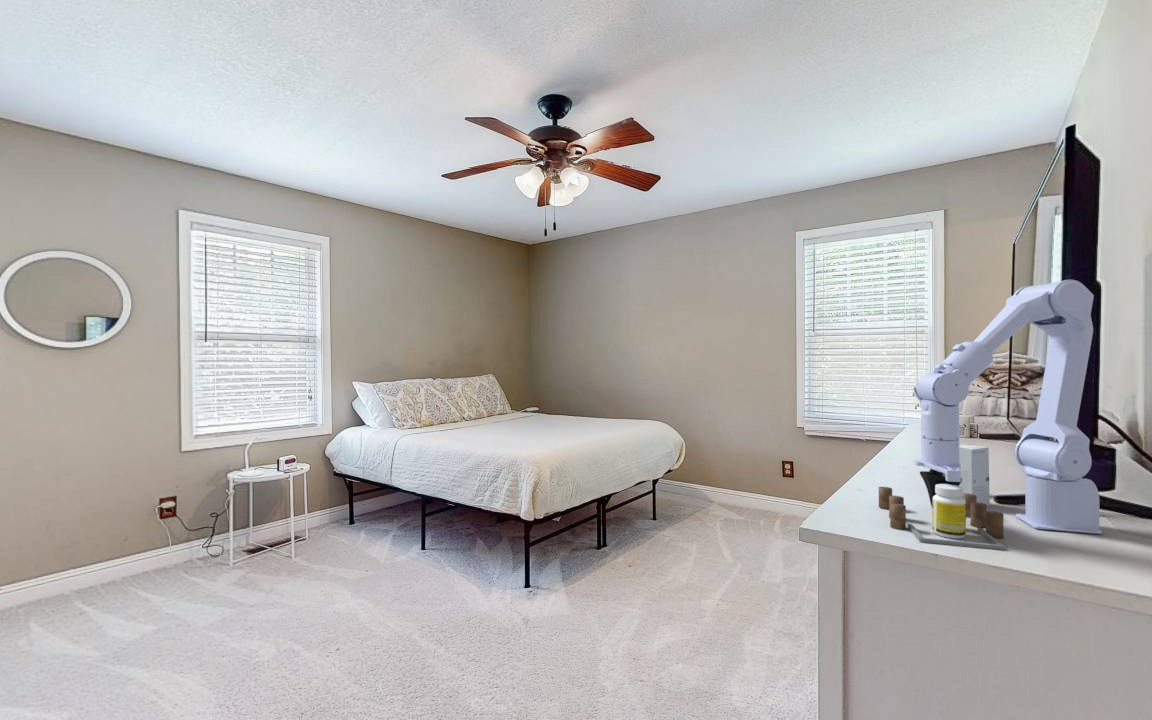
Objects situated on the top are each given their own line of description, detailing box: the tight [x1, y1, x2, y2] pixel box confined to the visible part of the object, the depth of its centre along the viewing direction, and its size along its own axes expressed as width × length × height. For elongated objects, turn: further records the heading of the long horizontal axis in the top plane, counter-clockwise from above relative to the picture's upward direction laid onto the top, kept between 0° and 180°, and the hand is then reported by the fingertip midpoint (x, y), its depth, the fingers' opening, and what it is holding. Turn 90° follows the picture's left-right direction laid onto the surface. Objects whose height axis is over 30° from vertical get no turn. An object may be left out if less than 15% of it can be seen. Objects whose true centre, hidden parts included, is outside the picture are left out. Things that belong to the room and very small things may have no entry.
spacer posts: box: [878, 486, 1005, 539], centre depth 99 cm, size 17×15×4 cm
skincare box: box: [959, 444, 991, 507], centre depth 109 cm, size 6×4×12 cm
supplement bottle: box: [931, 484, 967, 540], centre depth 91 cm, size 5×5×8 cm
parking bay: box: [906, 521, 1005, 551], centre depth 90 cm, size 12×9×1 cm
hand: (940, 512), depth 96 cm, fingers closed
